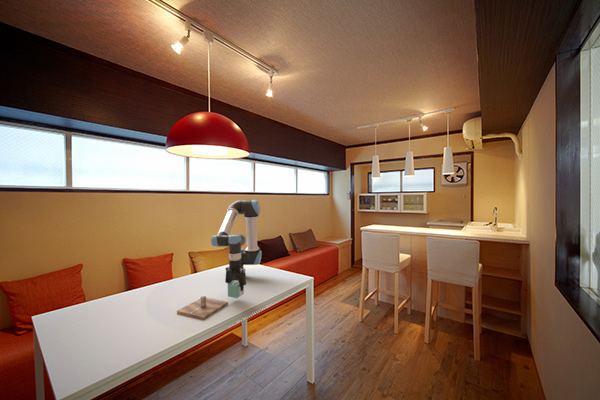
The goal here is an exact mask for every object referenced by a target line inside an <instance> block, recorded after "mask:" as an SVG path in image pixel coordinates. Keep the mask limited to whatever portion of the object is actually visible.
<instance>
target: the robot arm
mask: <svg viewBox="0 0 600 400" xmlns="http://www.w3.org/2000/svg"><path fill="white" fill-rule="evenodd" d="M260 214H261V205H260V202H259V201H258V200H257V199H238V200H236V201H233V202H232V203H231V204H230V205H229V206H228V208H227V209H226V214H225V217H224V219H223V222H222V224H221V226H220V228H219V231H218V232H217V234H214V235H212V236H211V239H210V242H211V243H210V244H211V246H212V247H215V248H216V247H218V248H220V247H223V248H224V247H228V266H227V267H225V283H226V284H227V285H228V284H229V283H230V282H232V281H234V280H237V281H239V284H240V286H239V297H238V298H240V297H242V296H243V295H244V294H243V290H244V291H245V289H243V286H244V287H245V286H246V284H247V278H246V276H247V275H246V268H244V266H256V265H257V266H258V265H259V264H260V263H261V260H262V254H263V253H262V250H261V249H260V247H259V246H258V224H257V223H258V222H257V220H258V219H257V218H258V217H259V215H260ZM239 215H243V218H244V219H245V228H246V229H245V230H246V233H245V234H246V236H245V235H244V234H241V233H240V234H231V231H232V229H233V226H234V224H235V220H236V218H238V216H239ZM245 243H246V248H244V249H243V248H242V246H244V245H245Z"/></svg>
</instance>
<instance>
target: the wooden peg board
mask: <svg viewBox="0 0 600 400" xmlns="http://www.w3.org/2000/svg"><path fill="white" fill-rule="evenodd" d="M228 305H229V302H228V301H224V300H219V299H215V298H210V297H207V295H202V296H201V297H200V298H199V299H197V300H195V301H193V302H191V303H189V304H187V305H185V306H183V307H182V308H179V309H178V310H176V314H179V315H182V316H186V317H191V318H195V319H199V320H206V319H207V318H209V317H211V316H212V315H214V314H216V313H218V312H219V311H221V310H222V309H223V308H225V307H226V306H228Z"/></svg>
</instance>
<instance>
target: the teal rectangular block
mask: <svg viewBox="0 0 600 400" xmlns="http://www.w3.org/2000/svg"><path fill="white" fill-rule="evenodd" d="M239 286H240V284H239V281H238V280H232V282H230V283H229V284H228V283H227V297H228V298H234V299H238V298H240V297H239ZM244 288H245V285H244V286H243V289H244ZM244 294H245V289H244V290H243V295H244Z"/></svg>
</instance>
